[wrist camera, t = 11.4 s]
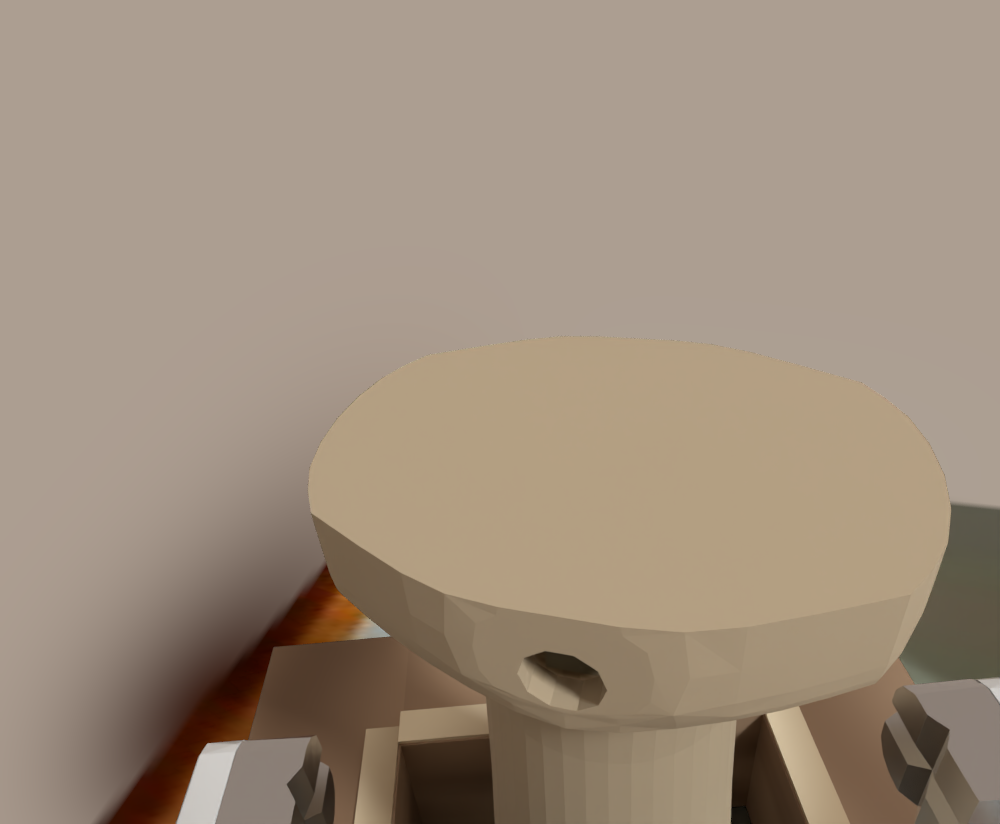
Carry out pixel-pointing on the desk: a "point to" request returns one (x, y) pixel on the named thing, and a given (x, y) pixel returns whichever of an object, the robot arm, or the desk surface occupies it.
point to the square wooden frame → (467, 757)
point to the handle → (630, 553)
